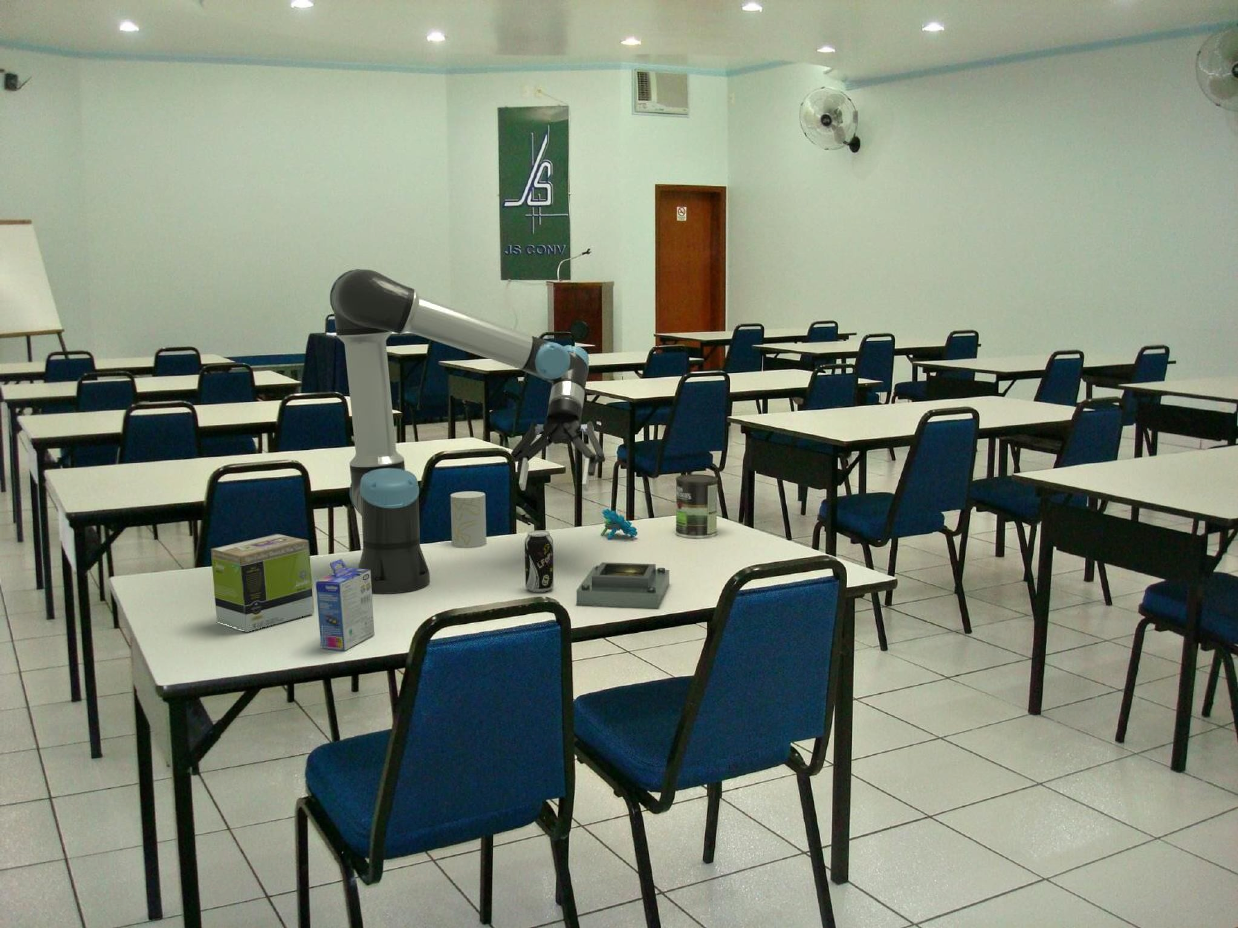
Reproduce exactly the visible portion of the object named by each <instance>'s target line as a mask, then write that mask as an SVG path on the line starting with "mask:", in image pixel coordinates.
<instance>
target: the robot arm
mask: <svg viewBox="0 0 1238 928" xmlns="http://www.w3.org/2000/svg"><path fill="white" fill-rule="evenodd" d="M329 304H330V306H331V309H332V311H333V316H334V325H335V326H334V327H335V335H336V338H338V339H339V340H340V341H341V342H343V344H344V351H345V362H346V370H347V371H346V372H347V381H348V388H349V389H348V390H349V401H350V409H351V411H350V412H351V419H352V428H353V429H352V430H353V440H354V449H355V455H354V457H353V458H352V459H351V461H350V462H349V471H350V485H349V486H350V488H349V498H350V501H351V504H352V506H353V507H354V509H355V510H356V511H357V513H359V514H360V516H361V527H362V529H361V530H362V531H361V532H362V553H361V556H360V560H359V563H358V566H357V568H359V569H369V570H370V572H371V588H372V594H373V593H375V594H398V593H405V592H412V591H416V590H419V589H422V588H424V587H427V586H428V585H429V584H430V583H431V577H430V575H431V574H430V573H431V572H430V569H429V566H428V564H427V561H426V559H425V555H424V553H423V550H422V548H421V538H420V537H421V536H420V535H421V532H420V531H421V530H420V503H419V502H420V501H419V495H420V487H419V483H418V478H417V476H416V475H415V473H413V472H411V471H410V470H407V469H406V465H405V458H404V456H403V455H402V454H400V453H399V452H398V451H397V447H396V446H397V444H396V434H395V425H394V424H395V423H394V416H393V415H394V412H393V404H392V403H393V402H392V393H391V382H390V373H389V361H388V360H389V359H388V352H387V351H388V350H387V340H388V338H389V337H390V336H391V334H392V333H395V334H398V335H402V334H404V333H406V332H408V333H410V334H413V335H415V336H416V335H417V336H420V337H423V338H426V339H429V340H431V341H434V342H437V343H441V344H444V345H447V346H450V347H453V348H456V349H459V350H461V351H465V352H468V353H469V354H470V353H471V354H474V355H476V356H480V357H483V358H485V359H489V360H492V361H495V362H498V363H501V364H504V365H507V366H509V367H512V368H514V369H519V370H521V371H523V372H525V373H528V374H529V375H532V376H535V377H538V378H540V379H542V380H544V381H547V382H549V383H551V390H550V395H549V401H548V406H547V407H548V409H547V414H546V421H545V422H544V424H540V423H539V424H538V423H537V421H532V422H531V423H530V426H529V429H528V430H527V432H526V433H525V434H524V435H523V437H522V438H521V440H520V441H519V442H518V444H517V445H515V447H514V449H513V450H512V451H511V452H510V455H511V458H512V461H513V462H514V463H517V466H516V472H517V475H518V476H519V481H518V484H519V488H520V490H521V491H526V487H527V480H528V474H529V469H530V468H529V467H530V464H529V461H530V460H532V459H533V458H534V457H535V456H537V455H538V454H539V453H540V452H541V451H543V450H544V449H545V448H546V447H549V446H550V445H551V444H553V445H559V444H563V445H568V444H569V443H571V444H572V445H574V447H576V448H577V449H578V450H579V451H580V453H582V455H583V456H584V457H585V461H584V466H583V467H584V470H583V476H582V482H581V484H582V487H583V491H585V492H587V491H588V490H589V483H590V477H594V476H595V473H596V467H597V464H598V463H604V462H605V461H606V458H605V453H604V451H603V449H602V446H601V444H600V441H599V440H598V438H597V436H596V434H595V427H594V424H593V422H592V421H590V420H589V421H587V423H586V424H581V422H582V414H583V408H584V401H585V400H584V399H585V395H586V394H585V393H586V387H587V386H586V385H587V380H588V374H589V372H590V371H589V366H590V365H589V364H590V363H589V361H590V358H589V354H588V352H587V351H586V350H585V349H583V348H582V347H580V346H579V345H575V346H573V345H571V344H570V345H569V344H567V345H561V344H559V343H558V342H554V341H548V340H545V339H542V338H540V337H538V336H533V335H531V334H529V333H526V332H522V331H520V330H517V329H515V328H512V327H509V326H506V325H503V324H499V323H497V322H494V321H491V320H489V319H486V318H483V317H479V316H477V315H475V314H471V313H468V312H465V311H463V310H459V309H457V308H454V307H451V306H448V305H446V304H443V303H440V302H437V301H434V300H431V299H429V298H426V297H424V296H423V297H422V296H420V295H419V294H418V291H417V290H416V289H414V288H412V287H409V286H406V285H404V284H402V283H399V282H397V281H396V280H393V279H392V278H390V277H388V276H386V275H384V274H382V273H380V272H378V271H375V270H372V269H362V268H356V269H350V270H348V271H345V272H343V273H342V274H341V275H339V276H338V277H337V278H336V279H335V281H334V282H333V284H332V286H331V289H330V293H329ZM541 432H542V433H541ZM582 432H584V435H586V436H588V439H589V441H590V443H591V446H592V447H593V450H594V451H595V452H593V451H592V450H591V449H590V448H589V446H588V445H587V444H586V443H585V442H584V441H583V440H582V439H581V437H580V436H579V435H580V434H581V433H582ZM540 433H541V435H540ZM539 435H540V437H539V438H537V436H539ZM536 438H537V439H536Z"/></svg>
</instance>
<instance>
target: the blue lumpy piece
mask: <svg viewBox="0 0 1238 928" xmlns="http://www.w3.org/2000/svg"><path fill="white" fill-rule="evenodd" d="M601 513H602V514H603V518H604V519H605V520H604V521H603V522H604V527H605V528H603V530H602V532H601V533H600V536H602V535H603V536H604V535H605V534H606V532H607V531H608V530H609V531H610V532H609V534H608V535H607V536H606V539H607V540H609V539H610V540H611V539H612V538H613V537H614V535H615V534H616V532H617V531H621V532H622V533H623V534H624V535H626V534H627V535H629V536H630V537H632V536H633V537H636V536H637V535H638V531H637V530H638V529H637V527H635V525H634V526H632V524H633V523H632V522H630V520H627V521H626V520H625V516H623V515H622V514H618V513H617V512H616V511H615V510H610V509H609V508H606V509H603V510H602V512H601Z"/></svg>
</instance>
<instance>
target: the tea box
mask: <svg viewBox="0 0 1238 928" xmlns="http://www.w3.org/2000/svg"><path fill="white" fill-rule="evenodd" d="M210 555H211V567H212V568H211V570H212V579H213V589H214V590H213V591H214V594H213V595H214V602H215V603H214V605H215V613H216V622H217V621H218V622H220V623H223V624H227V625H229V626H232V627H236V628H237V629H241V630H244V631H245V632H244V633H246V632H247V633H249V632H248V631H251V630H254V629H258V630H260V628H261V629H263V628H262V627H265V628H268V627H271V625H272V626H274V624H275V625H278V624H281V623H285V622H288V621H292V620H296V619H299V618H302V616H303V617H306V616H310V615H313V614H315V606H314V595H313V579H312V567H311V554H310V541H309V540H308V539H303V538H297V537H294V536H293V537H292V536H288V535H284V534H280V533H275V534H271V535H267V536H263V537H258V538H254V539H250V540H244V541H241V542H235V543H231V544H228V545H223V546H219V547H214V548H210ZM218 622H217V623H218ZM267 626H268V627H267ZM254 631H255V630H254ZM251 632H252V631H251Z"/></svg>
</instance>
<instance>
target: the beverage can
mask: <svg viewBox="0 0 1238 928" xmlns="http://www.w3.org/2000/svg"><path fill="white" fill-rule="evenodd" d="M550 534H551V532H550V531H548V530H531V531H528V532H527V536H526V538H525V539H524V570H525V571H524V572H525V573H524V575H525V578H524V579H525V582H524V583H525V588H526V589H527V590H528V591H530V592H532V593H547V592H549V591H550V590H551V589H553V588H554V576H555V575H554V540H553V538H552V536H551V535H550ZM546 591H547V592H546Z"/></svg>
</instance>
